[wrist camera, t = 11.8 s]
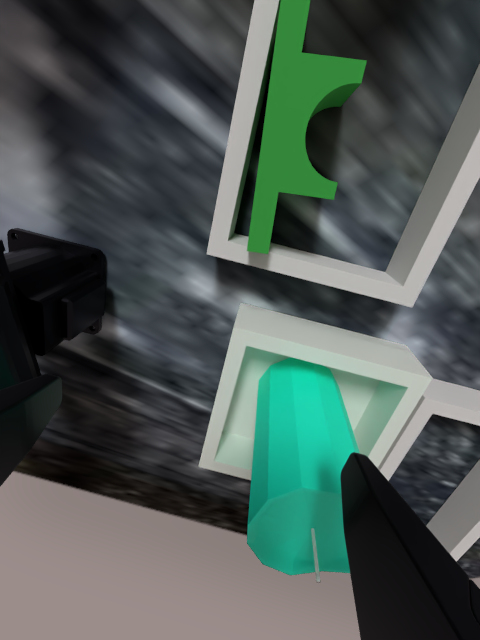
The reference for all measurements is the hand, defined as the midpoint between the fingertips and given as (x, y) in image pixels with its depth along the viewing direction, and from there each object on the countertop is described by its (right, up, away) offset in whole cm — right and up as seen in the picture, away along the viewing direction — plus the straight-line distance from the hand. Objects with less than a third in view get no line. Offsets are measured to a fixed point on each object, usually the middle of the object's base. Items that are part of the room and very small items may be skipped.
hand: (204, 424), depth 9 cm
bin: (+6, -2, +15) cm, 16 cm away
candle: (+5, -2, +14) cm, 15 cm away
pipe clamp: (+4, +13, +8) cm, 16 cm away
